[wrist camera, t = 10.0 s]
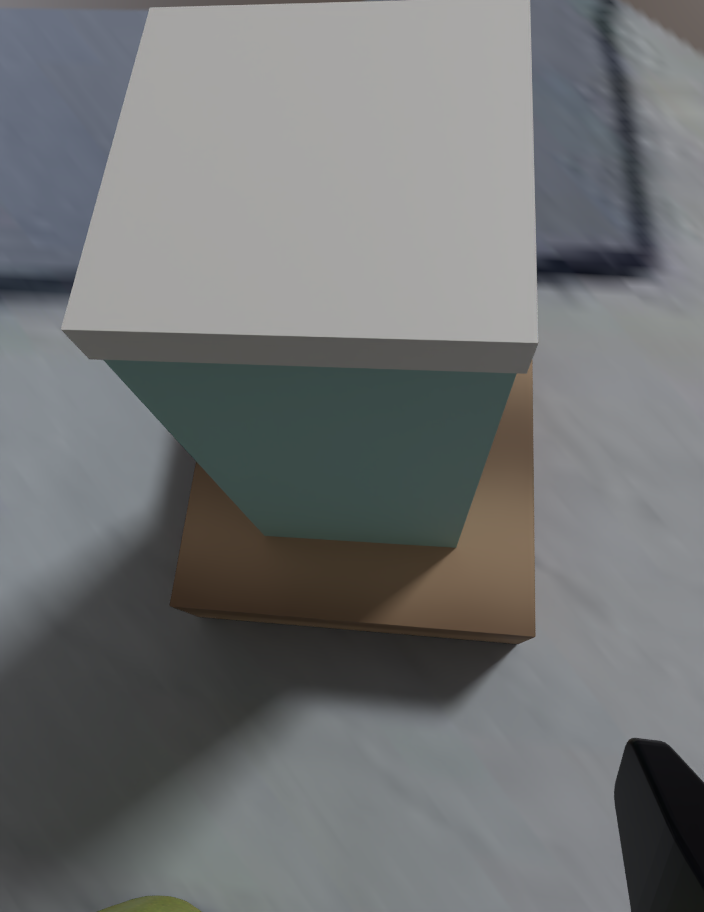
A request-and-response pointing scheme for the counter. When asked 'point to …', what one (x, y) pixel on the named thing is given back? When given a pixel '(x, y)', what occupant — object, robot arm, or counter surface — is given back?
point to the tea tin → (323, 254)
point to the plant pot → (153, 905)
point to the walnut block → (377, 560)
